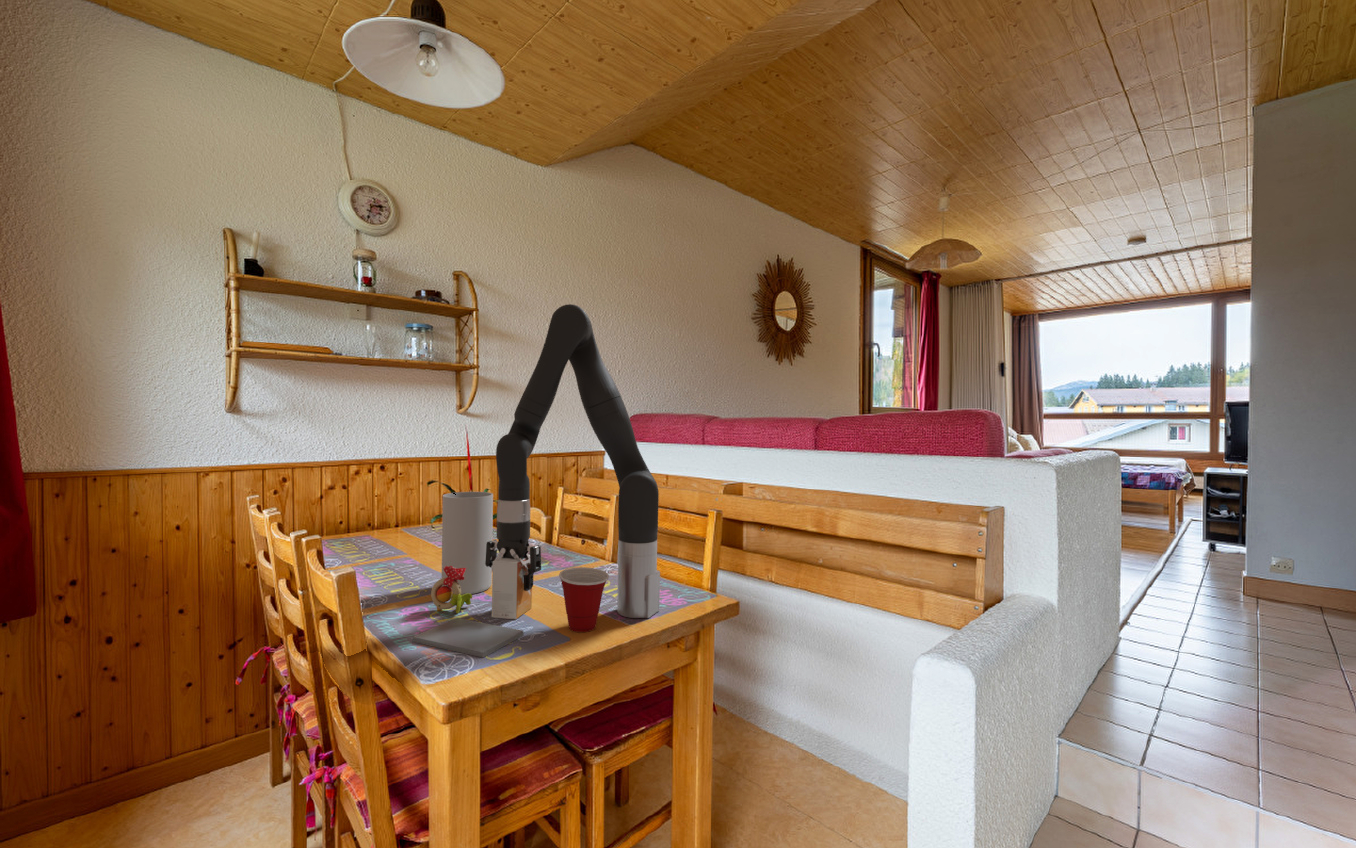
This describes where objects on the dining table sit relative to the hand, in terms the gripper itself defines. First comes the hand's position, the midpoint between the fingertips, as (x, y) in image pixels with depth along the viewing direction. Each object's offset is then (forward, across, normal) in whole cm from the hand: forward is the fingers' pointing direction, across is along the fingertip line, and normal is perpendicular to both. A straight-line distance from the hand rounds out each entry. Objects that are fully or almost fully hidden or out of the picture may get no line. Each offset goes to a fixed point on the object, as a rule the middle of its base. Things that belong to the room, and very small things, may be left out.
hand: (512, 587), depth 130 cm
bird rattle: (+6, +14, +5) cm, 16 cm away
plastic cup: (+6, -20, +1) cm, 21 cm away
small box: (+6, 0, 0) cm, 6 cm away
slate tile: (+6, -2, +16) cm, 17 cm away
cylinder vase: (+6, +23, -10) cm, 26 cm away
